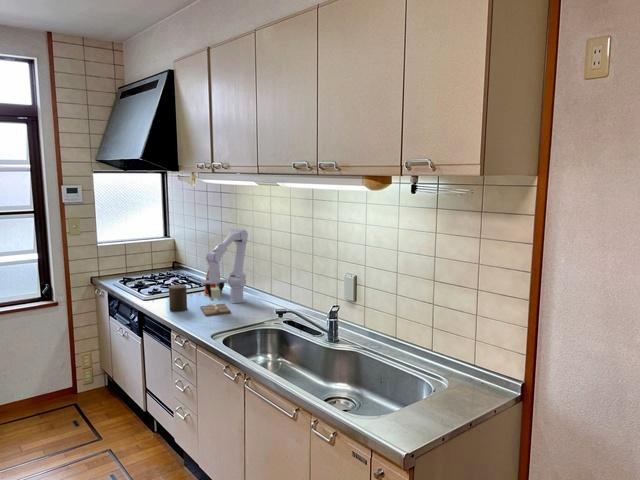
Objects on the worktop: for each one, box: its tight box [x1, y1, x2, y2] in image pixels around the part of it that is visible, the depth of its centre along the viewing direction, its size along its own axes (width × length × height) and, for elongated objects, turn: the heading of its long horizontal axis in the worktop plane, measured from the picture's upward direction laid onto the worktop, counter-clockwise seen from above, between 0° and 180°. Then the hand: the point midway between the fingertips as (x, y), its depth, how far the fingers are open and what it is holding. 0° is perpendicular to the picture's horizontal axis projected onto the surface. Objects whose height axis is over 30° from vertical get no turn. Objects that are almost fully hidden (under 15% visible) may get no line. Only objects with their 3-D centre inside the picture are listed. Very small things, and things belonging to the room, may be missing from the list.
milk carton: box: [204, 265, 221, 297], centre depth 308 cm, size 9×9×20 cm
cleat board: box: [200, 302, 232, 317], centre depth 275 cm, size 16×14×3 cm
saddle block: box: [209, 287, 222, 302], centre depth 274 cm, size 6×5×6 cm
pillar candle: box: [168, 284, 188, 313], centre depth 276 cm, size 10×10×15 cm
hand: (214, 296), depth 274 cm, fingers closed on saddle block, 5 cm apart
